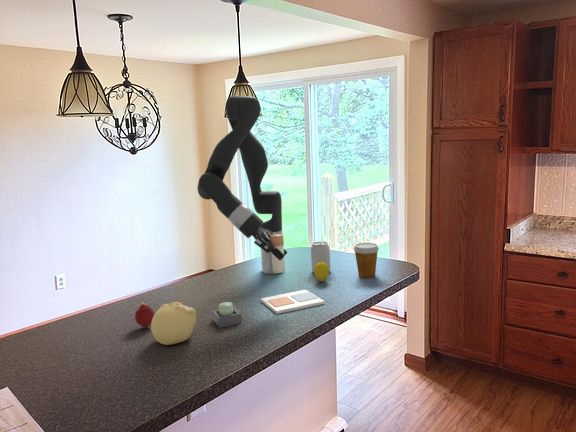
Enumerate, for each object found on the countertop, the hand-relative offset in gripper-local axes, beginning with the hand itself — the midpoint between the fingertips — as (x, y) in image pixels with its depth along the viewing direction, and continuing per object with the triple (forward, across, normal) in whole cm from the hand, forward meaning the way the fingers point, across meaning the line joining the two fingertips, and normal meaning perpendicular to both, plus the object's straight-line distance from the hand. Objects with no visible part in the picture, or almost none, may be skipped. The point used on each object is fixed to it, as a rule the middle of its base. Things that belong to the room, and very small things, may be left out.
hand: (283, 256), depth 158 cm
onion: (-16, -21, +40) cm, 48 cm away
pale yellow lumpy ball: (-7, -29, +31) cm, 43 cm away
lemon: (+18, +25, +6) cm, 31 cm away
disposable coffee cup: (+30, +33, -6) cm, 45 cm away
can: (+17, +38, +7) cm, 42 cm away
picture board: (+13, +2, +11) cm, 17 cm away
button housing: (+1, -15, +23) cm, 27 cm away
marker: (+2, 0, +5) cm, 5 cm away
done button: (0, -15, +22) cm, 27 cm away
